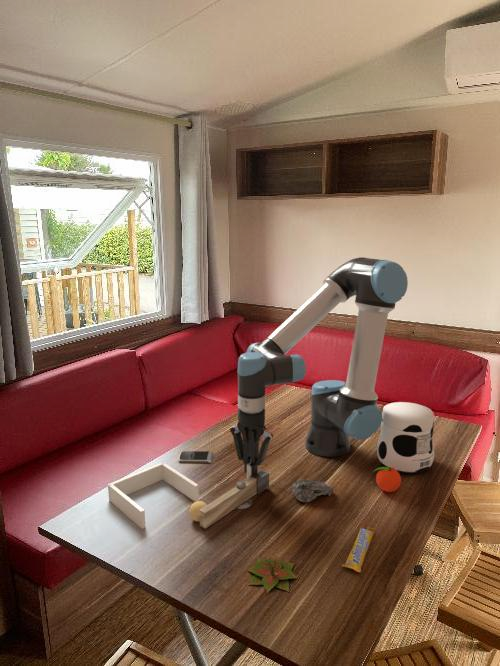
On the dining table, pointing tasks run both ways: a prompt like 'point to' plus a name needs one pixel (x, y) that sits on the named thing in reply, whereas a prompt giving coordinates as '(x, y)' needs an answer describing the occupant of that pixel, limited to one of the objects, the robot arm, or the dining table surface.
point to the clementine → (388, 479)
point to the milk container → (406, 437)
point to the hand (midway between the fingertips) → (250, 483)
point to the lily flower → (272, 573)
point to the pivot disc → (245, 504)
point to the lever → (233, 498)
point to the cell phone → (196, 457)
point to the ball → (196, 510)
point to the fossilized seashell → (310, 490)
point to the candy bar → (359, 549)
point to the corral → (145, 479)
